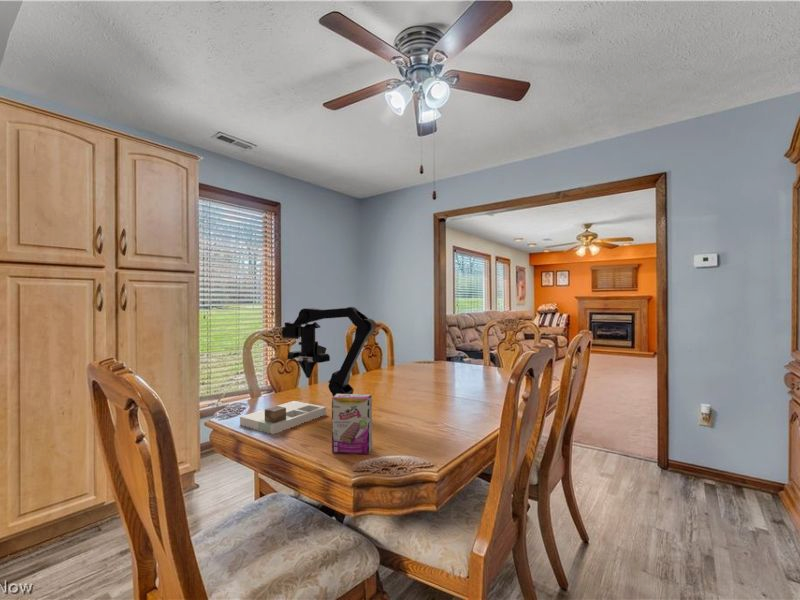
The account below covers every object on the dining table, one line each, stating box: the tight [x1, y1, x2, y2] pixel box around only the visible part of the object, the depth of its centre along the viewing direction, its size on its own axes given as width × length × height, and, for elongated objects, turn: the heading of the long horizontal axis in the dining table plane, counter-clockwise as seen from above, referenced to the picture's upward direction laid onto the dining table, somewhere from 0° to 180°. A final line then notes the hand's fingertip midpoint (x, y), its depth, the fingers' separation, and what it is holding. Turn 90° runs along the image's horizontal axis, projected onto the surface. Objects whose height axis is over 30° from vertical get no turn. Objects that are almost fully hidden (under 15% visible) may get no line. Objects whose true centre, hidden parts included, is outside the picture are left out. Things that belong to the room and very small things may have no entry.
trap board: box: [239, 400, 327, 435], centre depth 142 cm, size 18×25×3 cm
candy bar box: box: [331, 393, 373, 455], centre depth 112 cm, size 11×5×16 cm, turn 84°
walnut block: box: [264, 405, 286, 423], centre depth 132 cm, size 5×5×4 cm
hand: (308, 377), depth 154 cm, fingers closed
